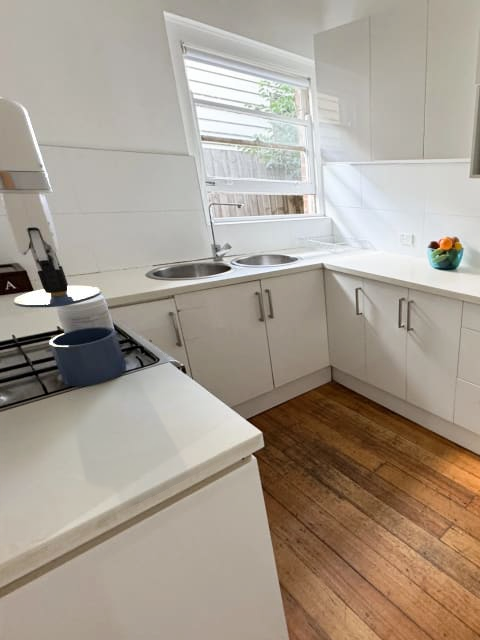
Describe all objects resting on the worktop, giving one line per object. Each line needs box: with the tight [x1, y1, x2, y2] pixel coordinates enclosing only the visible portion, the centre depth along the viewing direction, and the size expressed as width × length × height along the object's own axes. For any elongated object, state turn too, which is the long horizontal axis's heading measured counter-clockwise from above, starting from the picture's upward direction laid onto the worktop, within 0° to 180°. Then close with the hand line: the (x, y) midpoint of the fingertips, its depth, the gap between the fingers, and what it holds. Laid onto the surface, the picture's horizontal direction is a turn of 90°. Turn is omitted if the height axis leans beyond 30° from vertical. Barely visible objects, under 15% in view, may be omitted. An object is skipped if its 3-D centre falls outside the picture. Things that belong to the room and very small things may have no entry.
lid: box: [12, 285, 102, 308], centre depth 70 cm, size 12×12×7 cm
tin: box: [48, 327, 127, 387], centre depth 86 cm, size 11×11×10 cm
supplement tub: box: [55, 294, 115, 333], centre depth 95 cm, size 10×10×15 cm
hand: (57, 289), depth 71 cm, fingers closed on lid, 2 cm apart
